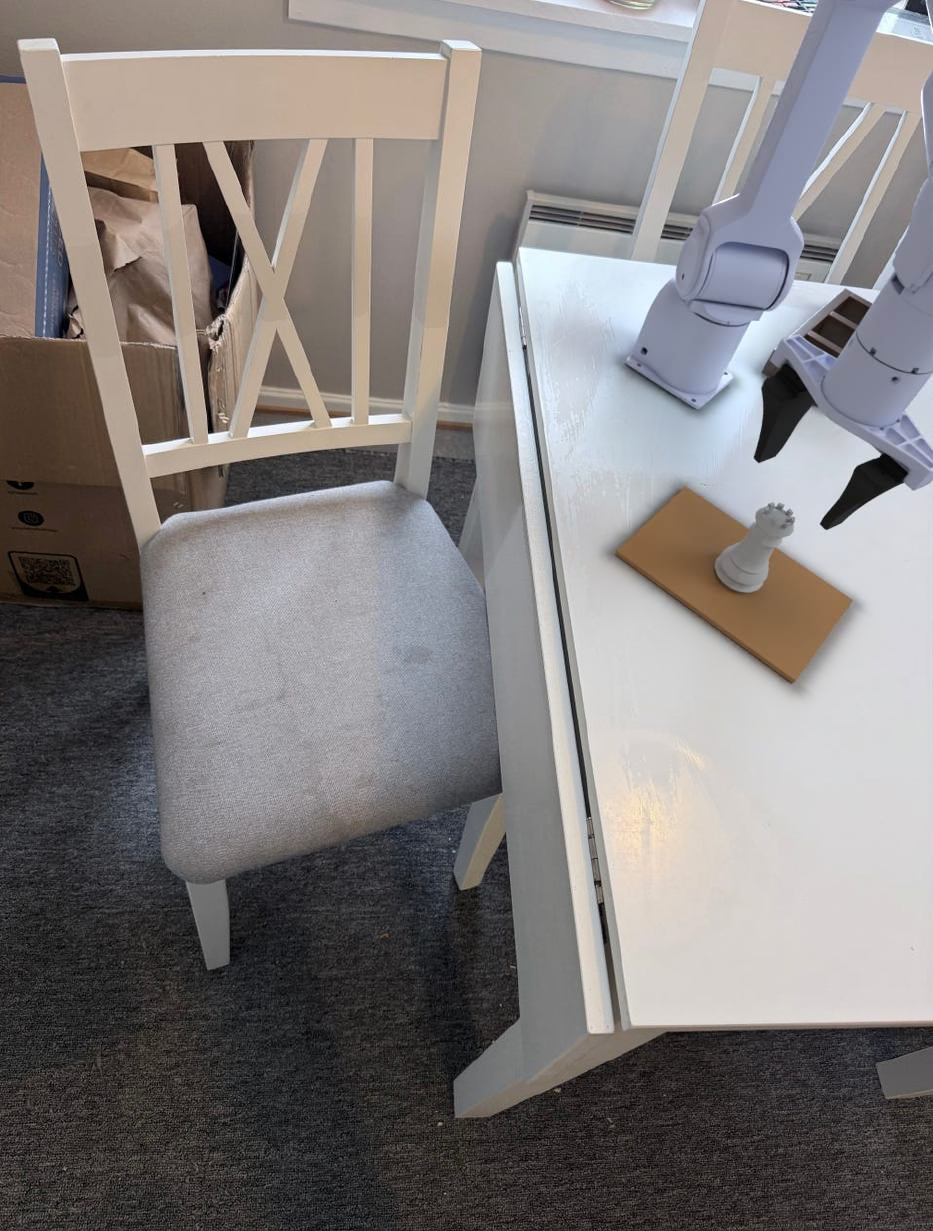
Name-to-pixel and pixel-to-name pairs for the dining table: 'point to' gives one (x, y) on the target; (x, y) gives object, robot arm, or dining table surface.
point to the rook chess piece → (754, 550)
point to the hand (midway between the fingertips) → (796, 489)
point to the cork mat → (758, 621)
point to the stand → (830, 325)
